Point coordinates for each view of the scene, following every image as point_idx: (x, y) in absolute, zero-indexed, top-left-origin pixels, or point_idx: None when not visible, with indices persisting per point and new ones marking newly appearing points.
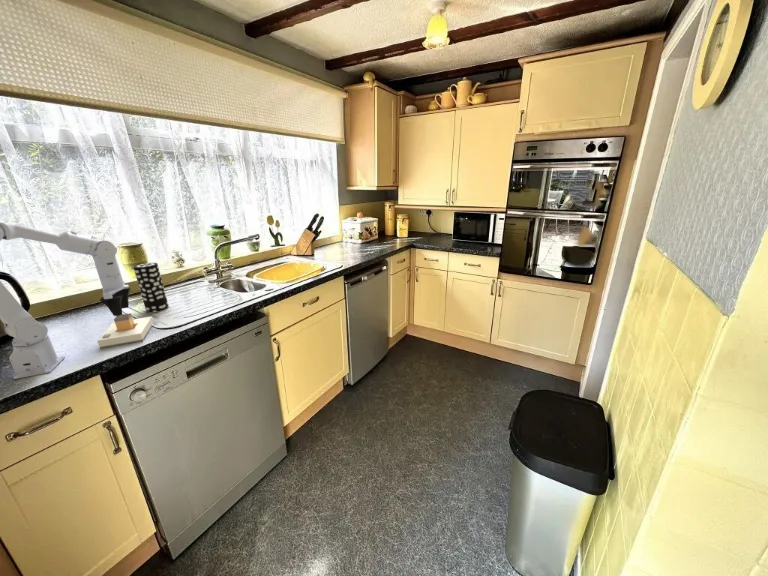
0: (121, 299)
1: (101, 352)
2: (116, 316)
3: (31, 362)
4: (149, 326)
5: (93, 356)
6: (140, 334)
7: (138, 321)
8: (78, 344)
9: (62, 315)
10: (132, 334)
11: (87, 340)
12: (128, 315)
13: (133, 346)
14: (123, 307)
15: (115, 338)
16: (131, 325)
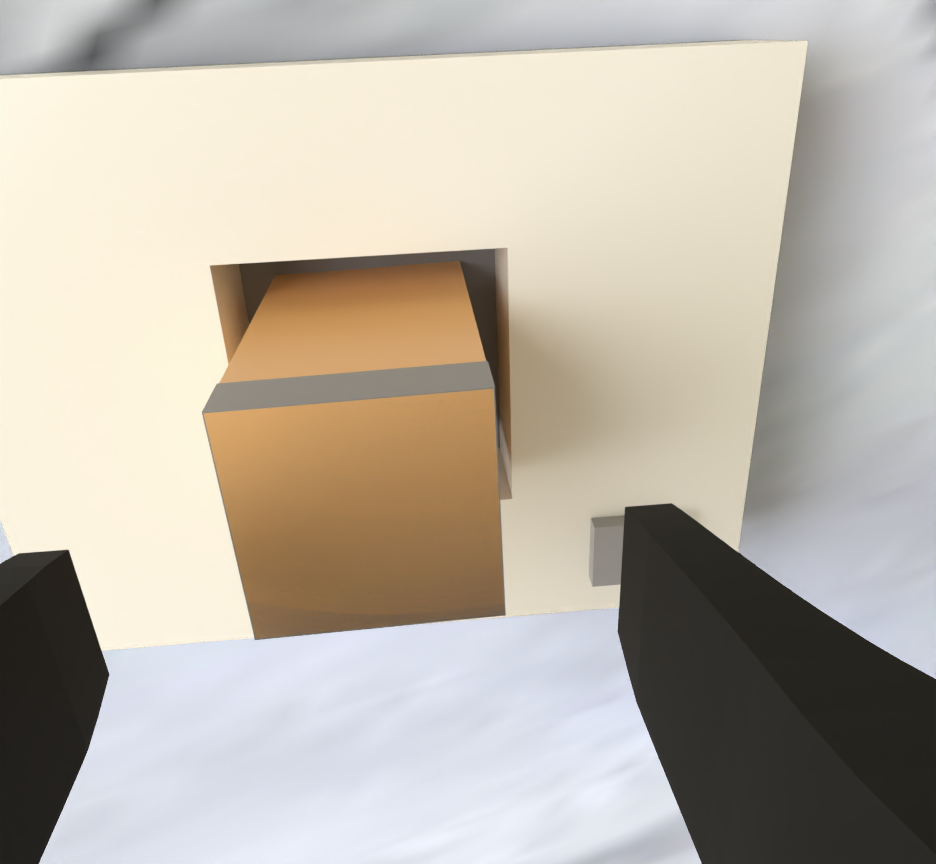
0: (931, 830)
1: (812, 476)
2: (339, 627)
3: None
4: (221, 66)
5: (876, 515)
6: (792, 56)
7: (109, 286)
8: (439, 760)
9: None
10: (772, 190)
11: (359, 728)
12: (371, 416)
13: (867, 140)
14: (88, 646)
15: (751, 412)
16: (427, 312)
